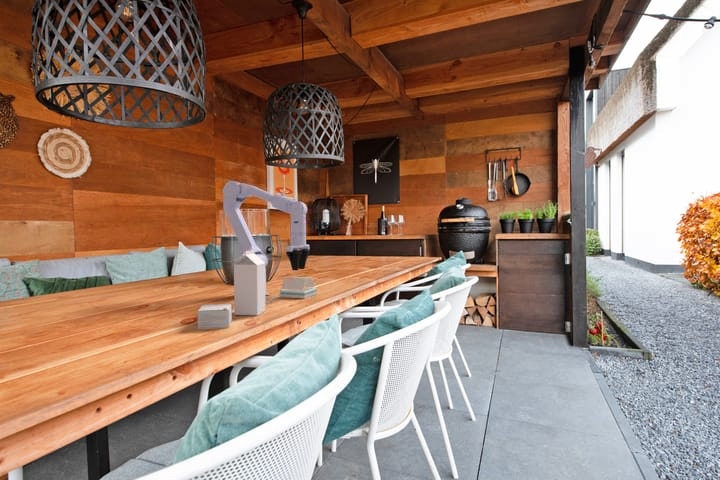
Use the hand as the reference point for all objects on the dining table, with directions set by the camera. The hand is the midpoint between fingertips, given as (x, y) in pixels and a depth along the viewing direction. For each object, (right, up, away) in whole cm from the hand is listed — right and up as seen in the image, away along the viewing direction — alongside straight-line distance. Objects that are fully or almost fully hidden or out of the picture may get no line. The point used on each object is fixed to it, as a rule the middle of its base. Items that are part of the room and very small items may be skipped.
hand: (298, 269), depth 151 cm
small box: (-15, -12, -44) cm, 48 cm away
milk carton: (-10, -11, -30) cm, 33 cm away
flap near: (-2, -7, -4) cm, 8 cm away
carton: (0, -10, 0) cm, 10 cm away
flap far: (+2, -7, +5) cm, 8 cm away
